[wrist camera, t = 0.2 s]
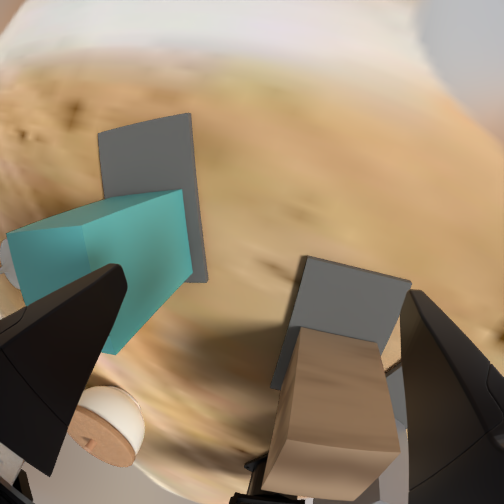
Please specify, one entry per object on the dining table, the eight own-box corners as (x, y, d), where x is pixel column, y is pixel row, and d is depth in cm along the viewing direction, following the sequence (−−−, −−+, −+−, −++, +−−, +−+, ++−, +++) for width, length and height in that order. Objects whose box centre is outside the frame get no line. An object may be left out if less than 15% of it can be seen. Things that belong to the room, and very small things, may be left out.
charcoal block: (356, 452, 30) (356, 536, 19) (318, 430, 29) (310, 523, 18) (404, 425, 27) (419, 514, 16) (369, 399, 27) (380, 500, 16)
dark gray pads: (354, 453, 31) (354, 457, 30) (60, 214, 28) (56, 215, 27) (481, 369, 24) (483, 372, 24) (154, 55, 21) (151, 54, 21)
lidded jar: (134, 435, 38) (107, 479, 29) (80, 387, 37) (44, 427, 28) (172, 417, 34) (142, 471, 25) (107, 359, 33) (64, 407, 24)
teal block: (192, 272, 26) (115, 355, 15) (124, 271, 27) (37, 336, 16) (182, 189, 24) (81, 225, 13) (111, 197, 25) (6, 233, 14)
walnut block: (349, 397, 27) (353, 501, 16) (281, 384, 28) (260, 489, 17) (377, 343, 25) (400, 452, 14) (301, 326, 26) (286, 439, 14)
